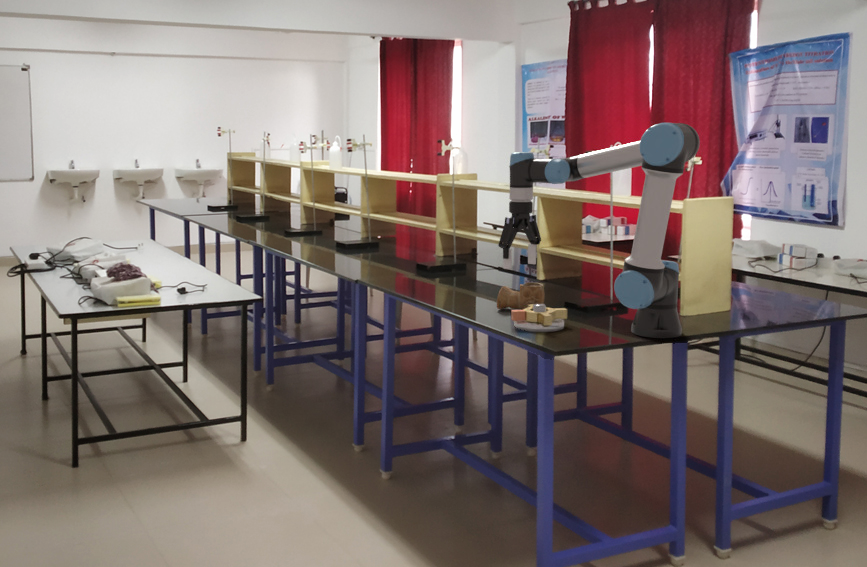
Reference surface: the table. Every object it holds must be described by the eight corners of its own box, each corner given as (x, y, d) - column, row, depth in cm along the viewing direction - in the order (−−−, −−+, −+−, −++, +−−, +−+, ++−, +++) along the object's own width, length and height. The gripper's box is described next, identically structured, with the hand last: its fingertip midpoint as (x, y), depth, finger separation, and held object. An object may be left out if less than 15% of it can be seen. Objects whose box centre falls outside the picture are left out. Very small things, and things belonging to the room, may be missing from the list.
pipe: (502, 307, 304) (503, 279, 302) (547, 310, 298) (547, 282, 296) (495, 312, 296) (495, 283, 294) (540, 315, 290) (541, 286, 288)
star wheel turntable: (515, 320, 283) (516, 299, 282) (564, 321, 280) (564, 300, 279) (512, 331, 267) (512, 309, 266) (563, 333, 265) (564, 311, 263)
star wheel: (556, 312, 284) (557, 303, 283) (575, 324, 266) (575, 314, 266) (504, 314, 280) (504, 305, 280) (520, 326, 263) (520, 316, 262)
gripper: (533, 197, 284) (532, 260, 288) (487, 202, 266) (487, 269, 270) (552, 199, 279) (551, 263, 283) (506, 203, 261) (505, 272, 265)
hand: (519, 266), depth 276 cm, fingers open, 13 cm apart
